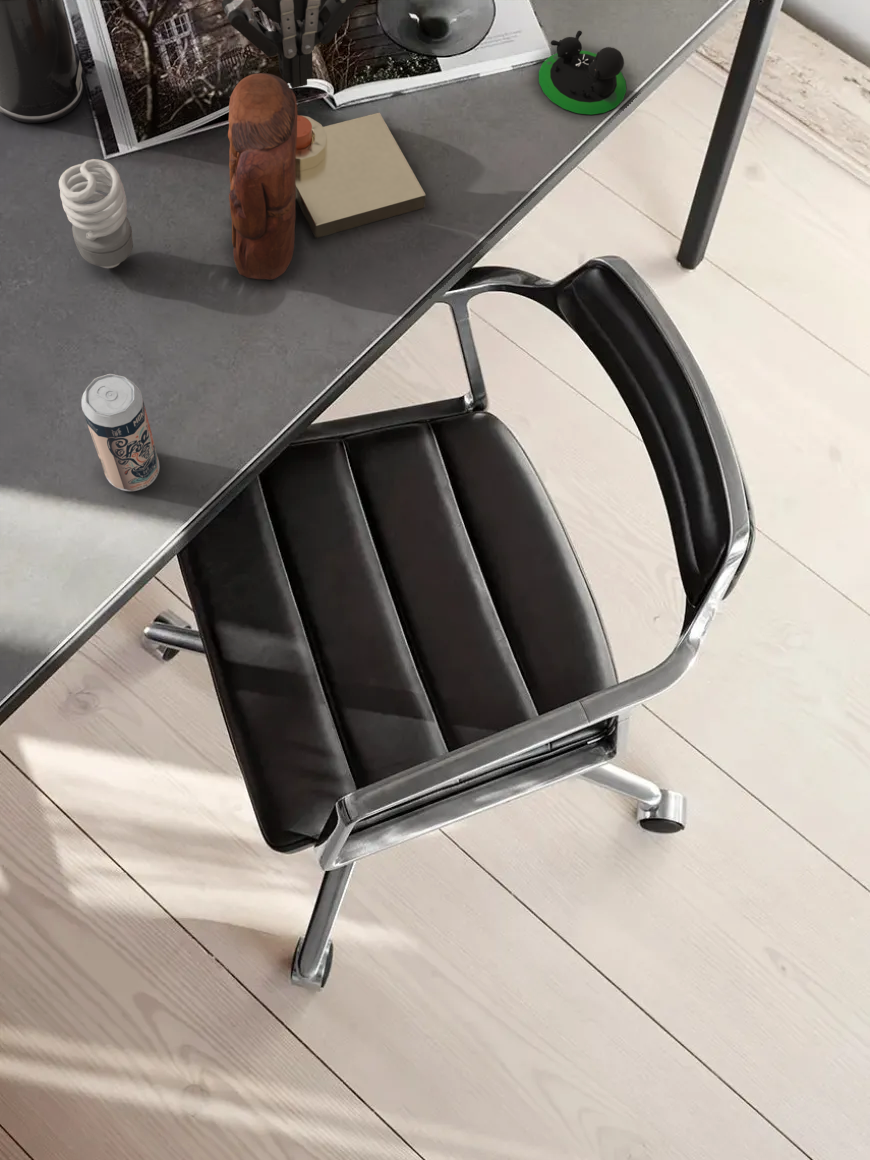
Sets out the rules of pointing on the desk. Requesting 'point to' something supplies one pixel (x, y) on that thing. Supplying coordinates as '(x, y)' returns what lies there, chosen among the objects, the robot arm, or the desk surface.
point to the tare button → (303, 133)
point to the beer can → (121, 432)
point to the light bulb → (97, 212)
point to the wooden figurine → (262, 174)
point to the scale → (353, 176)
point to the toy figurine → (583, 77)
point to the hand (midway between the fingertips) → (295, 81)
